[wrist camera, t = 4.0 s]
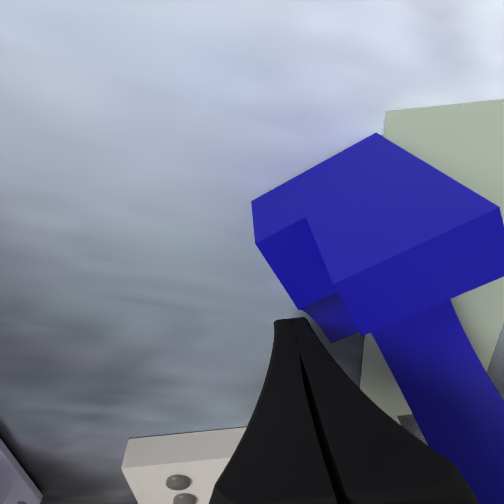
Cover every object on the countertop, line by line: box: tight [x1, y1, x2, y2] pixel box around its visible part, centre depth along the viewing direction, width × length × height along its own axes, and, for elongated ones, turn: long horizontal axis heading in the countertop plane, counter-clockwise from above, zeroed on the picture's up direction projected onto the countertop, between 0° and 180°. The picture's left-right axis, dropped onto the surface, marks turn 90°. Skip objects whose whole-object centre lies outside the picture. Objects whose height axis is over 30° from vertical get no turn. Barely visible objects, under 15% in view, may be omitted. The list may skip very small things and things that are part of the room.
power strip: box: [121, 416, 401, 504], centre depth 19 cm, size 14×5×2 cm, turn 95°
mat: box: [360, 99, 504, 416], centre depth 15 cm, size 6×15×1 cm, turn 5°
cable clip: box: [251, 133, 504, 504], centre depth 12 cm, size 12×4×6 cm, turn 30°
